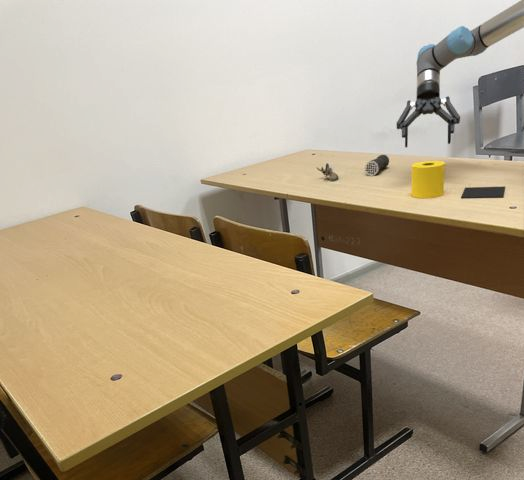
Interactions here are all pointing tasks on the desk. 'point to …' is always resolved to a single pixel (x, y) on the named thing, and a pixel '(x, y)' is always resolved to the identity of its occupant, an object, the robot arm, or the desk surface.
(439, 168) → the tape roll
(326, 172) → the eagle figurine
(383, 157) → the flashlight
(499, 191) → the edge mat
